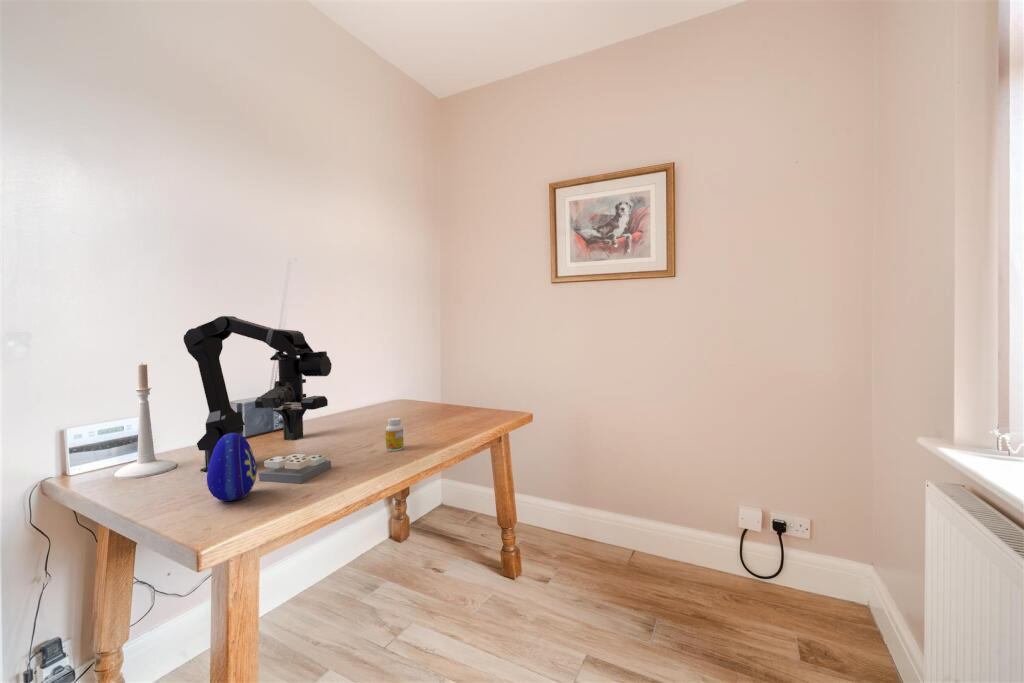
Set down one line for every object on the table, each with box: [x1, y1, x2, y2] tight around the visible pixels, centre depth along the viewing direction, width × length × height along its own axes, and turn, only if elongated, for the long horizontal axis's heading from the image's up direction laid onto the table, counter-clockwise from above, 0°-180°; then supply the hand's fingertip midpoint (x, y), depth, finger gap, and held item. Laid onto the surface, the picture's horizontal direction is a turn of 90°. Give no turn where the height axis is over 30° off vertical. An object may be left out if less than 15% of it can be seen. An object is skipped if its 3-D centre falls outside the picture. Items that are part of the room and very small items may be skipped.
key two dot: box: [263, 455, 291, 468], centre depth 107 cm, size 4×4×2 cm
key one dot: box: [286, 453, 308, 459], centre depth 113 cm, size 4×4×2 cm
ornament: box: [206, 433, 258, 502], centre depth 93 cm, size 11×9×15 cm
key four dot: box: [285, 457, 311, 469], centre depth 106 cm, size 4×4×2 cm
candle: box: [282, 417, 304, 441], centre depth 146 cm, size 5×5×25 cm
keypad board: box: [258, 459, 332, 485], centre depth 109 cm, size 12×12×2 cm
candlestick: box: [114, 363, 177, 480], centre depth 113 cm, size 13×13×30 cm
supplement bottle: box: [385, 417, 405, 452], centre depth 131 cm, size 5×5×10 cm
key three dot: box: [307, 454, 327, 466], centre depth 111 cm, size 4×4×2 cm
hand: (292, 433), depth 113 cm, fingers closed
